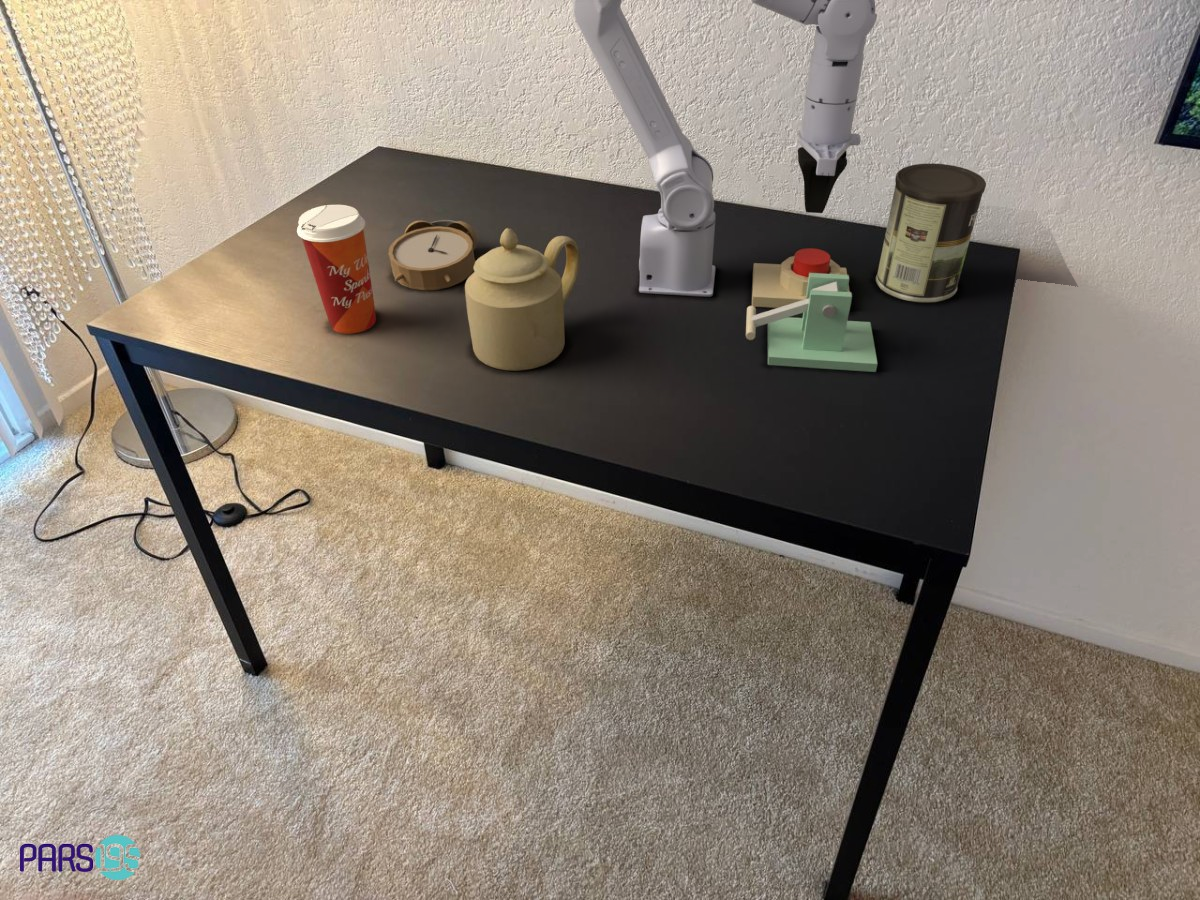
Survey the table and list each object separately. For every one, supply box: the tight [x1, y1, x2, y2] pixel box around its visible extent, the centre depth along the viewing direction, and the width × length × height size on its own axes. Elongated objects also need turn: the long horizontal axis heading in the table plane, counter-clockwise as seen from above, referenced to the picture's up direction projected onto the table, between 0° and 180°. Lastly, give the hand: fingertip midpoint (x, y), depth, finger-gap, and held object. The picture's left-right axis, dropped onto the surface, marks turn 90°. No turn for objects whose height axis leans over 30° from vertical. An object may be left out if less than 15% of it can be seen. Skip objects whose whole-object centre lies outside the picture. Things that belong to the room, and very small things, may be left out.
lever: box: [745, 282, 840, 341], centre depth 98 cm, size 11×6×2 cm, turn 80°
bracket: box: [767, 273, 878, 373], centre depth 98 cm, size 12×9×8 cm
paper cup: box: [296, 204, 377, 335], centre depth 103 cm, size 8×8×14 cm
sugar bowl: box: [464, 227, 581, 372], centre depth 99 cm, size 15×11×15 cm
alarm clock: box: [387, 219, 478, 291], centre depth 118 cm, size 11×5×15 cm
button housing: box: [751, 255, 852, 312], centre depth 110 cm, size 12×9×4 cm
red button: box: [793, 247, 831, 277], centre depth 108 cm, size 4×4×2 cm
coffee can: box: [875, 162, 987, 304], centre depth 108 cm, size 10×10×14 cm
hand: (814, 210), depth 106 cm, fingers closed
